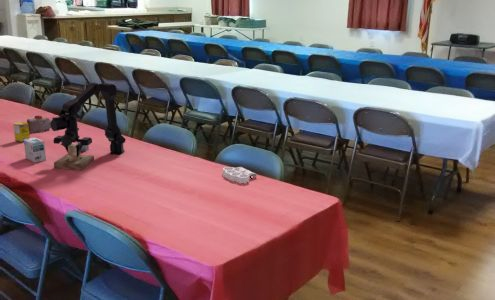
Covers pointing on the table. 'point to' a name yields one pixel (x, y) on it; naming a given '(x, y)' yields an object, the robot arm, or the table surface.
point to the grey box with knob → (38, 124)
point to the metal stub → (85, 148)
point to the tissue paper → (238, 174)
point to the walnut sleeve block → (74, 162)
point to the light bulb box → (34, 149)
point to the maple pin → (73, 153)
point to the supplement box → (21, 131)
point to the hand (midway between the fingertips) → (74, 156)
